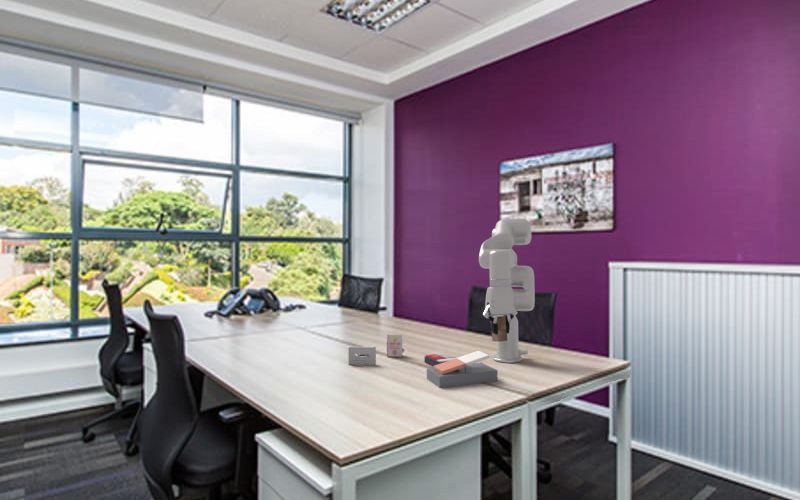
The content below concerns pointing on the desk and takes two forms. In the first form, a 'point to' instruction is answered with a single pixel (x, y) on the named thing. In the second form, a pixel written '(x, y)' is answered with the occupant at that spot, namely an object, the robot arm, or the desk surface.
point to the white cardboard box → (394, 345)
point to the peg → (500, 330)
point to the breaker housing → (463, 375)
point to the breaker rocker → (461, 362)
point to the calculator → (438, 358)
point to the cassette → (362, 359)
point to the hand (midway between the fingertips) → (500, 332)
